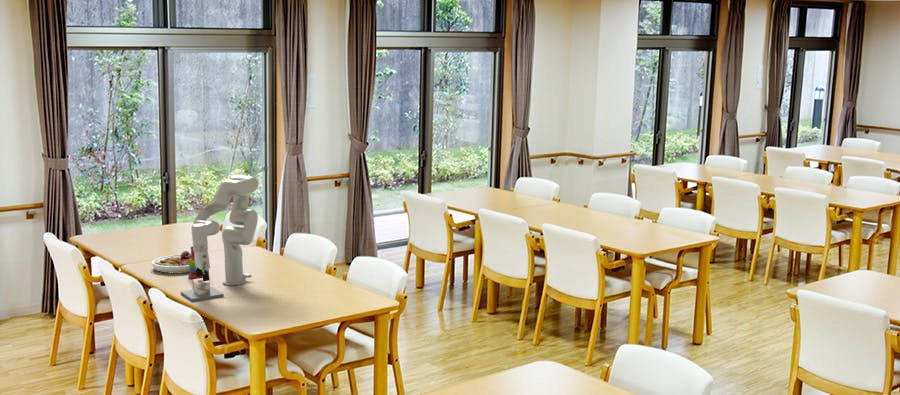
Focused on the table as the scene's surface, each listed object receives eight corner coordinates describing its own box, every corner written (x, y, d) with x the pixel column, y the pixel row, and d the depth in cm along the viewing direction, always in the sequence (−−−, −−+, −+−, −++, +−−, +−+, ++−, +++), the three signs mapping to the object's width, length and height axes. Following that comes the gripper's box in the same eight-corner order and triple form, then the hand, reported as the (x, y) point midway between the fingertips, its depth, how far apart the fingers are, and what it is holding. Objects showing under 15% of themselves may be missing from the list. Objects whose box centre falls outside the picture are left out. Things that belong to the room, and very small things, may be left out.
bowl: (197, 275, 533) (197, 261, 532) (145, 274, 533) (144, 261, 532) (211, 262, 563) (211, 250, 561) (162, 262, 563) (161, 249, 561)
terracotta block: (202, 287, 507) (201, 278, 507) (205, 289, 503) (205, 280, 502) (192, 288, 504) (192, 279, 503) (196, 290, 500) (195, 281, 499)
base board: (211, 289, 502) (211, 286, 502) (223, 296, 488) (223, 293, 488) (180, 294, 492) (180, 291, 492) (192, 301, 479) (191, 298, 478)
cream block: (205, 290, 495) (205, 279, 494) (210, 293, 489) (209, 282, 488) (193, 292, 491) (193, 281, 490) (198, 295, 486) (197, 283, 485)
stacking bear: (188, 279, 522) (186, 248, 519) (188, 275, 532) (186, 244, 529) (208, 278, 525) (206, 247, 522) (207, 273, 535) (206, 243, 532)
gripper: (213, 249, 481) (215, 281, 485) (201, 242, 495) (203, 273, 499) (199, 252, 477) (201, 284, 481) (187, 245, 491) (190, 276, 495)
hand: (202, 278), depth 490 cm, fingers open, 9 cm apart
